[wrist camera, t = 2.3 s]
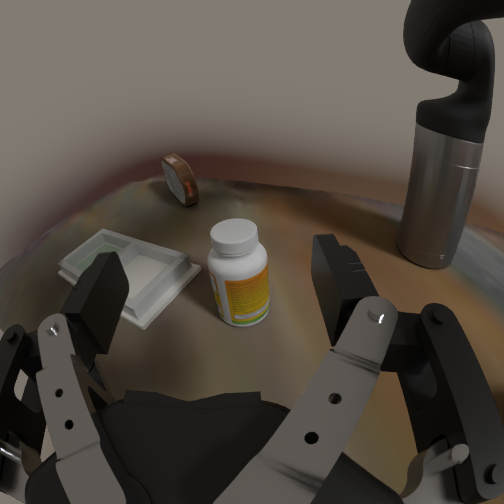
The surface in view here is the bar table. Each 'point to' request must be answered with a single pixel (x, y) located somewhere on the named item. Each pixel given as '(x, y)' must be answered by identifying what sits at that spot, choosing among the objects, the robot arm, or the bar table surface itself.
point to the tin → (180, 179)
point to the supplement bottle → (239, 272)
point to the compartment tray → (136, 272)
